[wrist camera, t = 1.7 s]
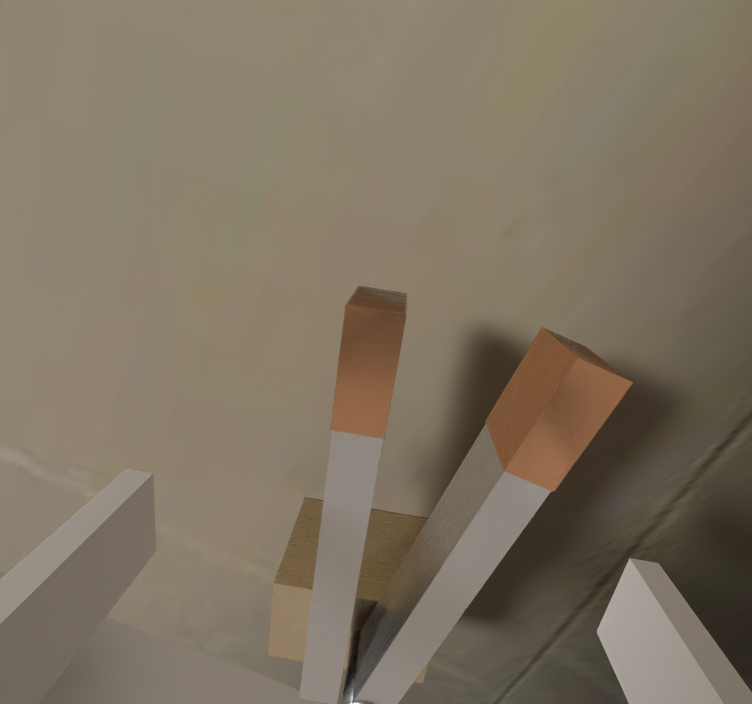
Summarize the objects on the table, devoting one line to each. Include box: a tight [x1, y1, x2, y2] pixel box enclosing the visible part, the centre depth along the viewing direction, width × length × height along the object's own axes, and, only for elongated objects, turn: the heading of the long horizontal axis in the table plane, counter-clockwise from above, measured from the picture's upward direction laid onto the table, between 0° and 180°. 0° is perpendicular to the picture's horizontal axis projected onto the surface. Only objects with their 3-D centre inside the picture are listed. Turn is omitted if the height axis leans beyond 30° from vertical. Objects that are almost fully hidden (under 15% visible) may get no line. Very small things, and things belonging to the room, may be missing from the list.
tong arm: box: [342, 327, 633, 704], centre depth 15 cm, size 18×2×3 cm, turn 157°
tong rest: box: [268, 286, 429, 704], centre depth 19 cm, size 20×8×9 cm, turn 172°
